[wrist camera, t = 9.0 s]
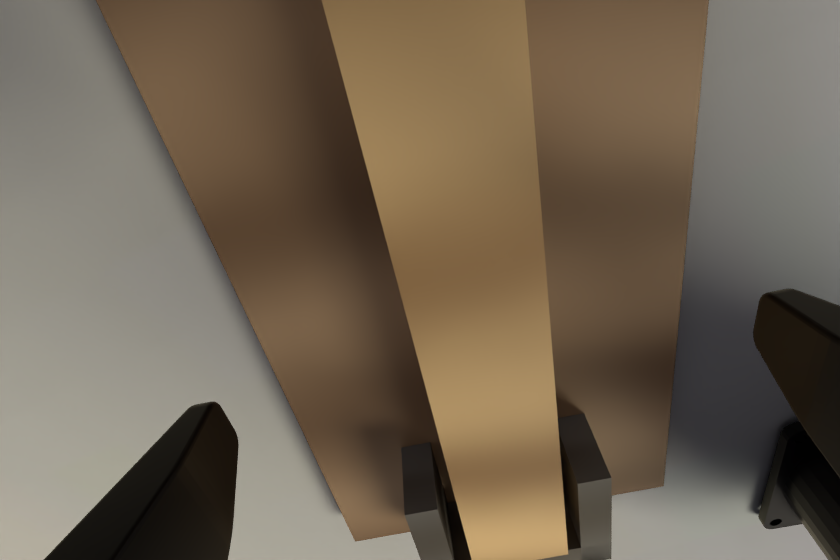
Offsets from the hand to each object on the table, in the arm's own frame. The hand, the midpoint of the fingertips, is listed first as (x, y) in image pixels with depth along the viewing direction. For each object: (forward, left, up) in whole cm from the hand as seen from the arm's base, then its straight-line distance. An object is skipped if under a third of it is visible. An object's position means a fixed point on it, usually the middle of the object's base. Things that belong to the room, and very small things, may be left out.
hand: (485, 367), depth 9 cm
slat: (0, 0, -6) cm, 6 cm away
